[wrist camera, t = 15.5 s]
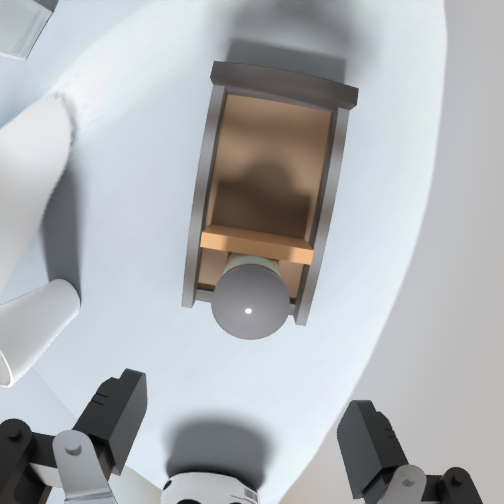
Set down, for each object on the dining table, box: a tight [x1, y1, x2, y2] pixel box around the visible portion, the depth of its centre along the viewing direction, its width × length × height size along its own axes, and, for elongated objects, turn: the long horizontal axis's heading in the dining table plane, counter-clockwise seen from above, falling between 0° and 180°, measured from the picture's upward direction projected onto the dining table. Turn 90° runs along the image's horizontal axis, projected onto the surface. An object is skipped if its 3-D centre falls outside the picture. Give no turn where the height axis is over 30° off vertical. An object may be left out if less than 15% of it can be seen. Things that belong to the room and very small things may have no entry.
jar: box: [211, 252, 290, 340], centre depth 24 cm, size 5×5×9 cm
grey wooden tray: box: [182, 61, 359, 326], centre depth 25 cm, size 22×12×5 cm, turn 171°
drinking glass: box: [0, 279, 80, 388], centre depth 23 cm, size 7×7×15 cm
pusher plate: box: [200, 224, 314, 265], centre depth 25 cm, size 1×9×4 cm, turn 81°
